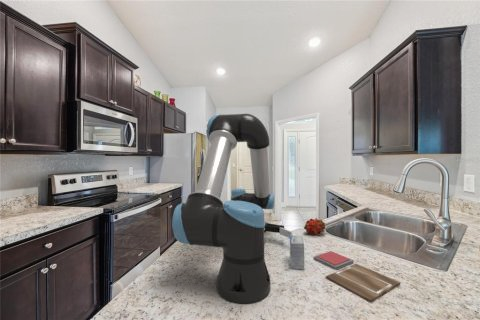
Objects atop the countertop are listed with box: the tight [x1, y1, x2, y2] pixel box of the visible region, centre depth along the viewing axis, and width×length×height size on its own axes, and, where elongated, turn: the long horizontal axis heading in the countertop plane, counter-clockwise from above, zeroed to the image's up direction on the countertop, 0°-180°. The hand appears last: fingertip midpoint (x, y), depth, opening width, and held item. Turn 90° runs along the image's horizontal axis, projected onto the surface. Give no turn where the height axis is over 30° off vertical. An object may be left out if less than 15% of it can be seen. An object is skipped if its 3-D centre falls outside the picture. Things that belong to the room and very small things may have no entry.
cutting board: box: [325, 263, 401, 303], centre depth 62 cm, size 16×13×1 cm
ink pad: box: [312, 250, 354, 271], centre depth 75 cm, size 10×9×1 cm
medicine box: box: [289, 235, 305, 271], centre depth 72 cm, size 8×4×9 cm, turn 168°
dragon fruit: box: [303, 217, 326, 237], centre depth 104 cm, size 8×8×12 cm
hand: (278, 238), depth 81 cm, fingers open, 13 cm apart
